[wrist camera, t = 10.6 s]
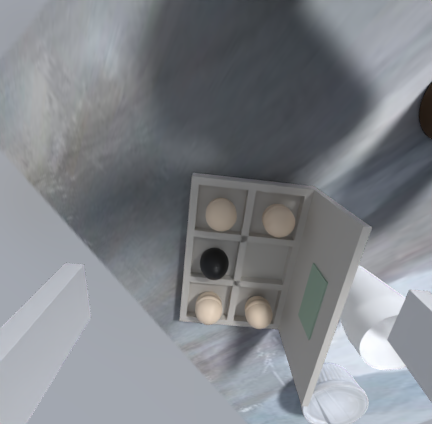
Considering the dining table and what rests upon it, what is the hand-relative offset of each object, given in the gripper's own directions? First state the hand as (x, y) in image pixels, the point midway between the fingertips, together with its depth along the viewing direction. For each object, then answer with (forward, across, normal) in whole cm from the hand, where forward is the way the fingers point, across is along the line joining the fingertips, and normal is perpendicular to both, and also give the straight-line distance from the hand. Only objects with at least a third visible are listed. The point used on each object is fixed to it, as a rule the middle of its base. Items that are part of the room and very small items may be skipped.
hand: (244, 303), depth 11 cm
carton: (+26, +3, -13) cm, 29 cm away
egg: (+25, -1, -13) cm, 28 cm away
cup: (+26, +21, -17) cm, 37 cm away
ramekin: (+26, +22, -39) cm, 52 cm away
